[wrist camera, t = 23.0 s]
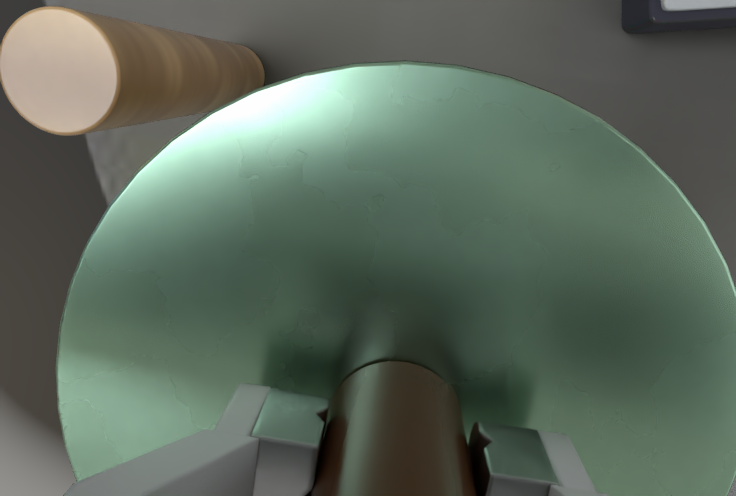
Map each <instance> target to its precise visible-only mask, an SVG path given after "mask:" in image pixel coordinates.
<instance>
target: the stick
mask: <svg viewBox="0 0 736 496" xmlns="http://www.w3.org/2000/svg"><path fill="white" fill-rule="evenodd" d="M0 80H1V83H2V86H3V89H4V91H5V94H6V96H7V97H8V99H9V101H10V103H11V104H12V105H13V107H14V108H15V109H16V110H17V112H18V113H19V114H20V115H21V116H22V117H23V118H25V119H26V120H27V121H28V122H30V123H31V124H33V125H34V126H36V127H38V128H39V129H41V130H44V131H46V132H49V133H52V134H57V135H65V136H70V135H79V134H85V133H91V132H96V131H102V130H108V129H114V128H119V127H125V126H131V125H137V124H142V123H148V122H154V121H160V120H165V119H171V118H177V117H183V116H189V115H194V114H200V113H206V112H211V111H213V110H215V109H217V108H219V107H221V106H223V105H225V104H227V103H229V102H231V101H233V100H235V99H237V98H239V97H241V96H242V95H244V94H246V93H248V92H250V91H252V90H254V89H257V88H260V87H263V86H264V81H265V74H264V68H263V65H262V63H261V61H260V59H259V58H258V56H257V55H256V54H255V53H254V52H253V51H252V50H250V49H249V48H247V47H245V46H242V45H238V44H234V43H229V42H224V41H220V40H215V39H210V38H206V37H201V36H196V35H192V34H187V33H182V32H178V31H173V30H168V29H164V28H159V27H154V26H150V25H145V24H140V23H136V22H131V21H126V20H121V19H117V18H112V17H107V16H103V15H98V14H93V13H89V12H84V11H79V10H75V9H70V8H65V7H59V6H46V7H41V8H37V9H34V10H31V11H29V12H27V13H25V14H24V15H22V16H21V17H20V18H18V19H17V20H16V21H15V22H14V23H13V24H12V25H11V27H10V28H9V29H8V31H7V32H6V34H5V36H4V38H3V40H2V44H1V46H0Z"/></svg>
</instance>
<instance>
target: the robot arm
mask: <svg viewBox="0 0 736 496" xmlns="http://www.w3.org/2000/svg"><path fill="white" fill-rule="evenodd" d="M329 402H330V398H327V397H321V396H316V395H310V394H305V393H299V392H293V391H288V390H282V389H277V388H270V387H269V386H262V385H254V384H246V383H240V384H239V385H238V386H237V388H236V389H235V391H234V393H233V395H232V397H231V399H230V401H229V402H228V404H227V406H226V408H225V410H224V412H223V414H222V415H221V417H220V419H219V421H218V423H217V425H216V427H215V428H214V430H207V429H204V430H202V431H199V432H197V433H194V434H192V435H189V436H187V437H185V438H182V439H180V440H177V441H175V442H173V443H170V444H168V445H165V446H163V447H160V448H158V449H156V450H153V451H151V452H148V453H146V454H144V455H141V456H139V457H136V458H134V459H132V460H129V461H127V462H124V463H122V464H119V465H117V466H115V467H112V468H110V469H107V470H105V471H103V472H100V473H98V474H95V475H93V476H90V477H88V478H86V479H83V480H81V481H78V482H76V483H74V484H72V486H71V487H70V488H69V489H68V490H67V492H66V493H65V494H64V495H63V496H310V494H311V490H312V489H313V485H314V481H315V476H316V472H317V467H318V463H319V456H320V449H321V446H322V444H323V439H324V434H325V429H326V424H327V417H328V409H329ZM468 449H469V454H470V459H471V465H472V470H473V475H474V480H475V486H476V491H477V496H609V495H608V494H606V493H601V492H596V490H595V488H594V486H593V484H592V482H591V480H590V478H589V476H588V474H587V472H586V470H585V468H584V466H583V464H582V462H581V460H580V458H579V456H578V454H577V452H576V450H575V448H574V446H573V444H572V442H571V440H570V438H569V436H568V435H566V434H564V433H556V432H547V431H538V430H536V429H529V428H521V427H514V426H507V425H499V424H492V423H484V422H475V423H474V424H473V427H472V430H471V433H470V438H469V442H468Z"/></svg>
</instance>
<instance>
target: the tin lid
mask: <svg viewBox="0 0 736 496" xmlns="http://www.w3.org/2000/svg"><path fill="white" fill-rule="evenodd" d="M56 381H57V404H58V412H59V417H60V423H61V428H62V433H63V439H64V444H65V448H66V451H67V454H68V457H69V460H70V463H71V466H72V469H73V473H74V476H75V479H76V482H78V481H81V480H83V479H86V478H88V477H90V476H93V475H95V474H98V473H100V472H103V471H105V470H107V469H110V468H112V467H115V466H117V465H119V464H122V463H124V462H127V461H129V460H132V459H134V458H136V457H139V456H141V455H144V454H146V453H148V452H151V451H153V450H156V449H158V448H160V447H163V446H165V445H168V444H170V443H173V442H175V441H177V440H180V439H182V438H185V437H187V436H189V435H192V434H194V433H197V432H199V431H202V430H204V429H207V430H214V428H215V427H216V425H217V423H218V421H219V419H220V417H221V415H222V414H223V412H224V410H225V408H226V406H227V404H228V402H229V401H230V399H231V397H232V395H233V393H234V391H235V389H236V388H237V386H238V385H239V384H240V383H246V384H254V385H262V386H269V387H270V388H277V389H282V390H288V391H293V392H299V393H305V394H310V395H316V396H321V397H327V398H330V402H329V409H328V417H327V424H326V429H325V434H324V439H323V444H322V446H321V449H320V456H319V463H318V467H317V472H316V476H315V481H314V485H313V489H312V490H311V494H310V496H477V491H476V486H475V480H474V475H473V470H472V465H471V459H470V454H469V449H468V442H469V438H470V433H471V430H472V427H473V424H474V423H475V422H484V423H492V424H499V425H507V426H514V427H521V428H529V429H536V430H538V431H547V432H556V433H564V434H566V435H568V436H569V438H570V440H571V442H572V444H573V446H574V448H575V450H576V452H577V454H578V456H579V458H580V460H581V462H582V464H583V466H584V468H585V470H586V472H587V474H588V476H589V478H590V480H591V482H592V484H593V486H594V488H595V490H596V492H601V493H606V494H608V495H609V496H728V494H729V491H730V489H731V486H732V484H733V482H734V479H735V477H736V288H735V285H734V282H733V280H732V277H731V274H730V271H729V268H728V266H727V263H726V261H725V259H724V257H723V255H722V253H721V251H720V249H719V247H718V246H717V244H716V242H715V240H714V238H713V236H712V234H711V233H710V231H709V229H708V227H707V225H706V223H705V221H704V220H703V219H702V217H701V216H700V215H699V213H698V212H697V211H696V209H695V208H694V206H693V205H692V204H691V202H690V201H689V200H688V198H687V197H686V196H685V194H684V193H683V192H682V190H681V189H680V188H679V186H678V185H677V184H676V182H675V181H674V180H673V179H672V178H671V177H670V176H669V175H668V174H667V173H665V172H664V171H663V170H662V169H661V168H660V167H659V166H658V165H657V164H656V163H655V162H654V161H653V160H652V159H651V158H650V157H649V156H648V155H647V154H646V153H645V152H644V151H643V150H642V149H641V148H640V147H639V146H637V145H636V144H635V143H633V142H632V141H631V140H629V139H628V138H627V137H625V136H624V135H623V134H621V133H620V132H619V131H617V130H616V129H615V128H613V127H612V126H611V125H609V124H608V123H606V122H605V121H604V120H602V119H601V118H599V117H597V116H596V115H594V114H592V113H590V112H588V111H586V110H584V109H583V108H581V107H579V106H577V105H575V104H573V103H572V102H570V101H568V100H566V99H564V98H562V97H561V96H559V95H557V94H554V93H552V92H549V91H546V90H544V89H541V88H538V87H536V86H533V85H530V84H528V83H525V82H522V81H520V80H517V79H514V78H512V77H509V76H505V75H500V74H496V73H492V72H487V71H483V70H478V69H474V68H469V67H465V66H460V65H453V64H441V63H429V62H418V61H406V60H405V61H386V62H367V63H352V64H347V65H342V66H336V67H331V68H326V69H321V70H315V71H310V72H305V73H301V74H298V75H295V76H292V77H289V78H287V79H284V80H281V81H278V82H275V83H272V84H269V85H266V86H263V87H260V88H257V89H254V90H252V91H250V92H248V93H246V94H244V95H242V96H241V97H239V98H237V99H235V100H233V101H231V102H229V103H227V104H225V105H223V106H221V107H219V108H217V109H215V110H213V111H211V112H209V113H208V114H206V115H205V116H204V117H202V118H201V119H199V120H198V121H196V122H195V123H193V124H192V125H191V126H189V127H188V128H186V129H185V130H183V131H182V132H180V133H179V134H178V135H176V136H175V137H173V138H172V139H171V140H170V141H169V142H167V143H166V144H165V145H164V146H163V147H162V148H161V149H160V150H159V151H158V152H157V153H156V154H155V155H153V156H152V157H151V158H150V159H149V160H148V161H147V162H146V163H145V164H144V165H143V166H142V167H140V168H139V169H138V170H137V172H136V173H135V174H134V175H133V176H132V178H131V179H130V180H129V181H128V183H127V184H126V185H125V186H124V188H123V189H122V190H121V191H120V193H119V194H118V195H117V196H116V198H115V199H114V200H113V201H112V202H111V204H110V205H109V206H108V208H107V210H106V212H105V213H104V215H103V217H102V218H101V220H100V222H99V224H98V225H97V227H96V229H95V230H94V232H93V233H92V235H91V237H90V239H89V240H88V242H87V244H86V246H85V249H84V251H83V253H82V256H81V258H80V261H79V263H78V266H77V268H76V271H75V273H74V275H73V278H72V280H71V283H70V286H69V290H68V294H67V299H66V303H65V307H64V311H63V315H62V319H61V323H60V329H59V340H58V350H57V359H56Z"/></svg>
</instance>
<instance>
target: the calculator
mask: <svg viewBox="0 0 736 496" xmlns="http://www.w3.org/2000/svg"><path fill="white" fill-rule="evenodd" d="M729 27H736V0H622V28H623V29H624V31H625V32H627V33H651V32H666V31H682V30H698V29H714V28H729Z"/></svg>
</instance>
